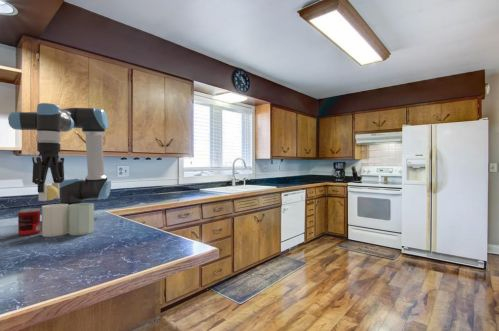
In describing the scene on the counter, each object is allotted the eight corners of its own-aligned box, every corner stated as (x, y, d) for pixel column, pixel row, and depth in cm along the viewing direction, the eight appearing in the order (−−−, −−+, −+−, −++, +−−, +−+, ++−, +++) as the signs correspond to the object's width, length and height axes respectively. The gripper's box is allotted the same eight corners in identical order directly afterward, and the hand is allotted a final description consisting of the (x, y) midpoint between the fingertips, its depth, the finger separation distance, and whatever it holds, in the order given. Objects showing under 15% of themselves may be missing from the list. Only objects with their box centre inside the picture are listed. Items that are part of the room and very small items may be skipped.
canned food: (37, 230, 127) (37, 207, 127) (42, 233, 121) (42, 209, 121) (16, 234, 121) (16, 209, 121) (20, 237, 116) (20, 211, 116)
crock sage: (78, 229, 128) (78, 203, 128) (97, 230, 127) (97, 203, 127) (63, 235, 118) (63, 206, 118) (84, 235, 118) (84, 206, 118)
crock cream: (53, 231, 125) (53, 203, 125) (73, 231, 125) (73, 203, 125) (36, 236, 116) (36, 207, 116) (57, 237, 115) (57, 207, 115)
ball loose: (48, 199, 110) (48, 184, 110) (62, 199, 110) (61, 184, 110) (35, 201, 104) (35, 186, 104) (50, 201, 104) (50, 186, 104)
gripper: (58, 144, 117) (58, 196, 117) (18, 140, 98) (19, 203, 98) (74, 144, 116) (74, 196, 116) (38, 140, 97) (38, 203, 98)
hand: (49, 199), depth 107 cm, fingers closed on ball loose, 6 cm apart
